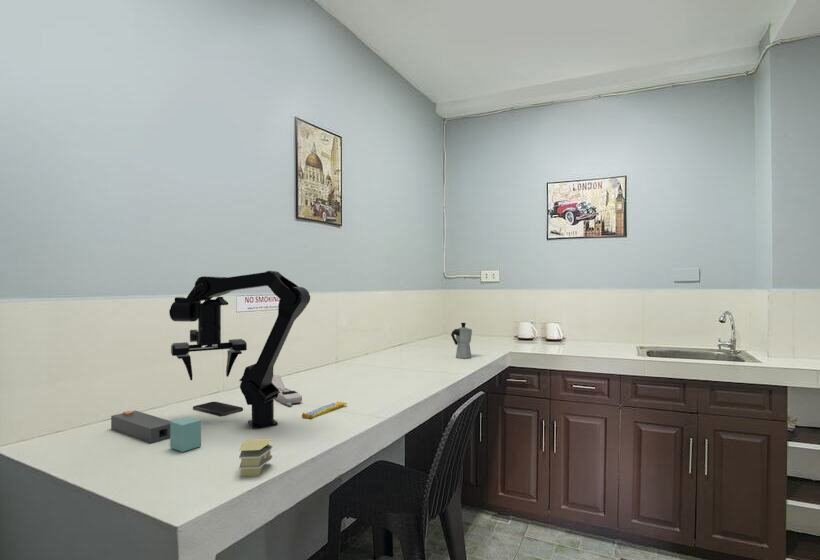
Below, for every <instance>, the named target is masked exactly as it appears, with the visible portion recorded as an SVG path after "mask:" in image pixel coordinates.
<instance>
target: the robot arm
mask: <svg viewBox="0 0 820 560" xmlns="http://www.w3.org/2000/svg"><path fill="white" fill-rule="evenodd" d="M260 287H261V288H262V287H268V288H269V289H270V291H271V292H272V293H273V294H274V295H275V296H276V297H278V298H279V300H278V305H277V306H278V309H277V311H278V312H277V317H276V320H275V322H274V324H273V326H272V328H271V330H270V333H269V335H268V337H267V340H266V341H265V343H264V346H263V348H262V350H261V353H260V354H259V357H258V359H257V361H256V363H254V364H251V365H248V366H245V368H244V370H243V371H244V372H243V374H242V377H241V378H240V379H239V380H238V381H239V382H240V383H239V389H240V391H241V393H242V395H243V396H244V399H245V402H246V404H247V405H248V406H251V419H250V420H248V421H247V423H248V425H250V427H251V428H252V429H260V428H265V427H270V426H271V427H272V426H277V425H278V422H277V420H276V419H275V418H274V417H275V416H274V414H275V413H274V411H275V409H274V407H275V406H274V402H275V401H274V400H276V399H275V398H277V397H278V394H279V390H278V389H277V388H276V386H275V385H274V384H273V383H272V379H273V375H274V366H275V365H276V362H277V360H278V357H279V355H280V353H281V350H282V349H283V347H284V345H285V342H286V341H287V338H288V335H289V334H290V331H291V329H292V327H293V325H294V322H295V321H296V320H297V319H298V318H299V316H301V314H302V313H303V311H305V309H306V308H307V306H308V305H309V303H310V300H311V295H310V292H309V290H308V289H307V288H305V287H303V286H298V284H296V283H294V282H293V281H291V280H290V279H288V278H286V277H285V276H283V275H282V274H281V272H279V271H277V270H267V271H264V272H258V273H252V274H251V273H250V274H243V275H236V276H230V277H229V276H228V277H227V276H206V275H205V276H200V277H198V278H197V280H196V281H195V283H194V286H193V287H192V289H191V291H190V292H189V294H188V295H187V297H184V296H183V297H182V296H179V297H176V296H175V297H174V301H173V302H172V303H171V305H170V308H169V310H168V311H169V317H170V319H171V320H172V321H174V322H190V323H191V322H196V321H197V320H198V328H197V329H190V330H189V342H190V343H195V342H196V344H189V342H188V341H186V342H173V343H171V345H170V354H171V356H173V357H177V358H176V359H178V360H182V362H183V364H184V366H185V368H186V371H187V374H188V377H189V380H190V381H193V368H192V359H191V355H190V354H189V353H191V352H192V353H193V352H202V351H215V350H217V351H219V350H227V351H226V353H227V359H226V369H225V376H226V378H228V377H229V375H230V373H231V371H232V368H233V366H234V363H235V361H236V360H237V357H239V355H242V354H243V351H244V352H245V351H247V350H248V349H247V342H246V340H244V339H242V338H235V339H228V342H221V341H222V337H221V336H222V333H221V332H222V330H221V328H222V325H221V324H222V322H221V321H222V317H221V316H222V315H221V313H222V307H221V306H228V305H229V302H228V301H227V300H225V298H224V297H223V295H227V294H229V293H231V292H234V291H239V290H247V289H254V288H260ZM213 298H215V299H213ZM202 301H203V302H202Z"/></svg>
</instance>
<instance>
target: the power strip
mask: <svg viewBox="0 0 820 560" xmlns="http://www.w3.org/2000/svg"><path fill="white" fill-rule="evenodd" d="M110 418H111V419H110V420H111V421H110V427H111V428H110V429H111V430H112V431H114V432H118V433H121V434H123V435H126V436H129V437H131V438H134V439H137V440H140V441H142V442H145V443H148V444H154V443H157V442H161V441H164V440H167V439H170V422H171V421H172V420H169V419H165V418H162V417H158V416H155V415H151V414H148V413H145V412H142V411H138V410H126V411H123V412H122V413H117V414H113V415H111V416H110Z"/></svg>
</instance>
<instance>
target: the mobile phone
mask: <svg viewBox="0 0 820 560" xmlns="http://www.w3.org/2000/svg"><path fill="white" fill-rule="evenodd" d="M272 383H273V384H274V385H275V386H276V388H277V389H278V390H279V394H278V397H277V398H275V399H274V400H276V401H277V402H279V403H281V404H282V405H286V406H288V407H293V404H297V403H301V402H303V396H302V395H301V394H300V393H299V392H298V391H296V390H291V389H290V388H287V387H285V383H284V382H283V380H282V377H281V375H280V374H275V375H274V374H273V379H272Z"/></svg>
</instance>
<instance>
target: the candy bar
mask: <svg viewBox="0 0 820 560" xmlns="http://www.w3.org/2000/svg"><path fill="white" fill-rule="evenodd" d="M346 405H348V403H347V402H343V401H337V402H333V403H329V404H326V405H324V406H321V407H319V408H317V409H316V408H315V409H313V410H311V411H308V412H306V413H305V412H302V414H301V417H302V419H310V420H312V419H315V418H318V417H321V416H323V415H326V414H329V413H331V412H334V411H336V410H339V409H341V408H343V407H344V406H346Z"/></svg>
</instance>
